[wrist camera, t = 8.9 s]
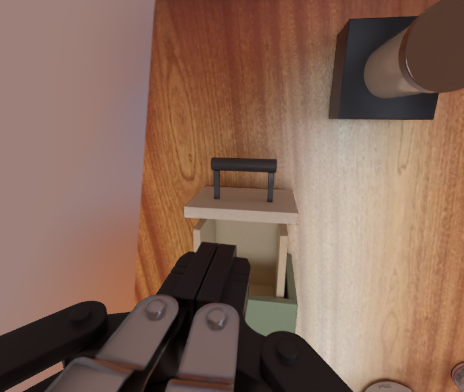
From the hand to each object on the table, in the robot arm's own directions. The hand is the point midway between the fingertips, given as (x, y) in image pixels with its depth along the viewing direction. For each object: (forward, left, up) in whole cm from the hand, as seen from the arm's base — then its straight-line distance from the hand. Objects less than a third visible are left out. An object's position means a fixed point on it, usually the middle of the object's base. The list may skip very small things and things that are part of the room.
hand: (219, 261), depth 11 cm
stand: (+13, +11, -25) cm, 30 cm away
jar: (+13, +11, -20) cm, 26 cm away
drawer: (-1, -8, -24) cm, 25 cm away
